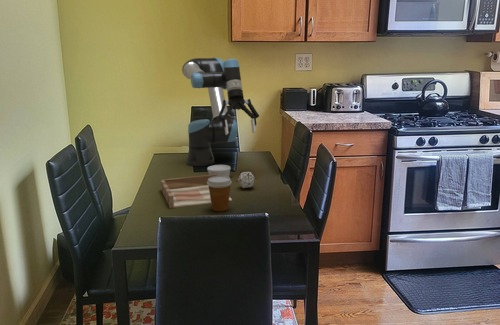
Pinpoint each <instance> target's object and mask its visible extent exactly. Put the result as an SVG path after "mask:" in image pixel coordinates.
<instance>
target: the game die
mask: <svg viewBox="0 0 500 325" xmlns="http://www.w3.org/2000/svg"><path fill="white" fill-rule="evenodd" d="M251 171H252V170H251V169H250V170H249V171H241V170H239V177H238V179H237V180H236V181H235V182H237V183H239V185H240V186H241V190H244V189H248V188H249V189H250V188H252V189H254V183H255V181H256V180H257V179H258V177H255V175H254V174H253V173H252V172H251Z"/></svg>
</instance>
